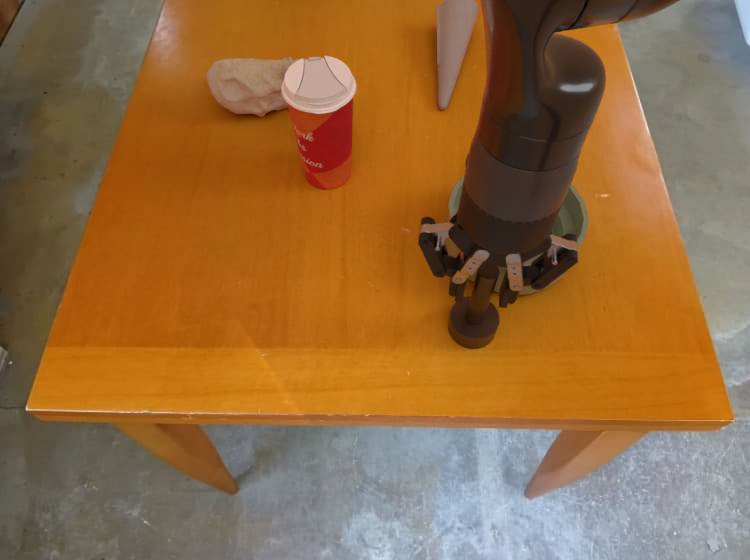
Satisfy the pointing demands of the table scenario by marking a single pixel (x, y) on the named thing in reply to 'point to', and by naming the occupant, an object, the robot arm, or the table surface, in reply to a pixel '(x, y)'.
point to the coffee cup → (322, 118)
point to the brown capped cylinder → (476, 312)
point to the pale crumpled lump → (249, 84)
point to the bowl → (567, 222)
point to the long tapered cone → (452, 43)
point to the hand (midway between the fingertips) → (480, 296)
